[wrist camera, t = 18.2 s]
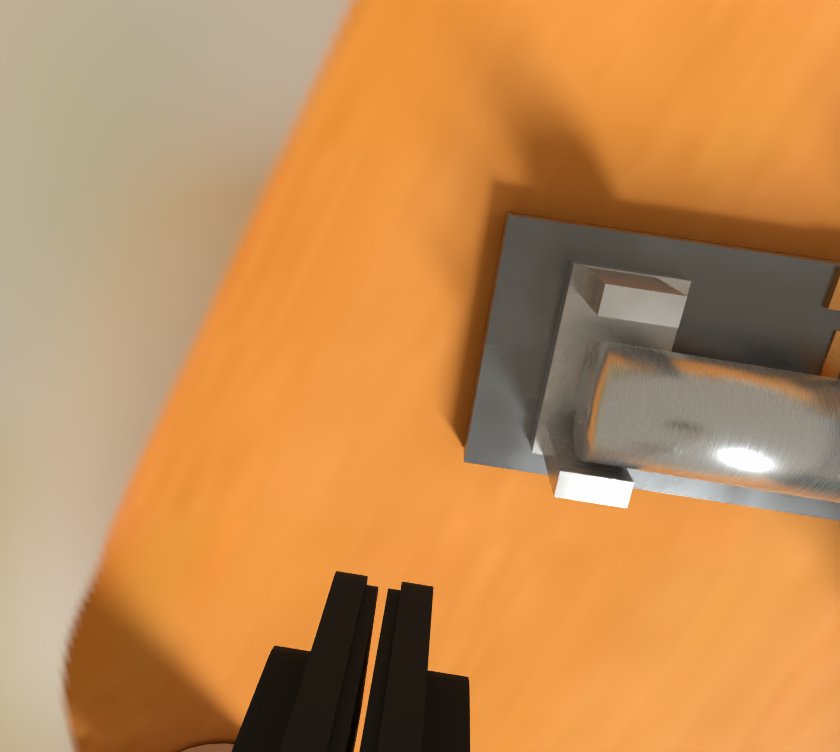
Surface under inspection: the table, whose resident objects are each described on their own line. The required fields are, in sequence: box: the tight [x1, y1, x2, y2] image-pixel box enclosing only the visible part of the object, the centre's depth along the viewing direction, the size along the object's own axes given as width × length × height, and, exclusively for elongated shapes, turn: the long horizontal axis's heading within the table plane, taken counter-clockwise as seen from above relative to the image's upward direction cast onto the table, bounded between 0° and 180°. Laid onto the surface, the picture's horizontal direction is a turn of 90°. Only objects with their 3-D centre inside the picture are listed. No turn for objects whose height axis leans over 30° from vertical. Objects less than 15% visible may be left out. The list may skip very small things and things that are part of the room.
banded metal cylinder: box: [573, 341, 840, 503], centre depth 26 cm, size 18×5×5 cm, turn 82°
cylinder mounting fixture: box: [464, 212, 840, 521], centre depth 27 cm, size 25×12×6 cm, turn 83°
